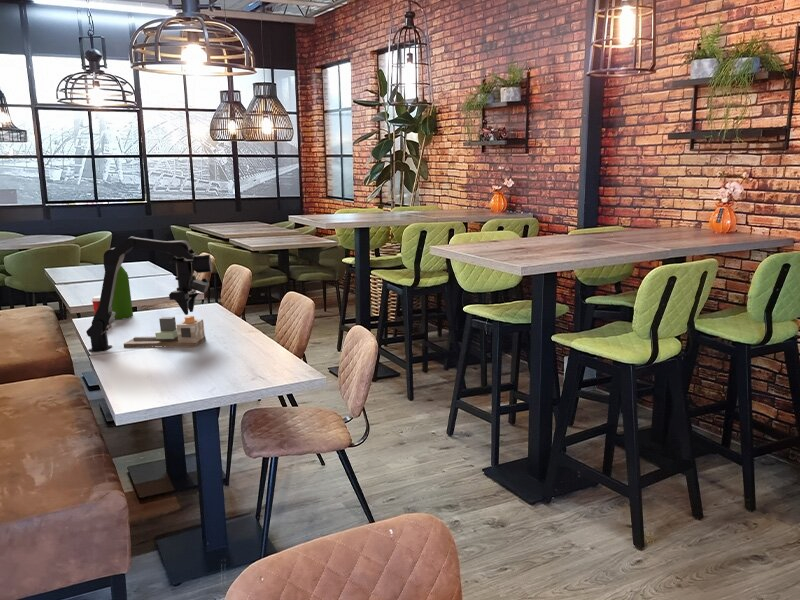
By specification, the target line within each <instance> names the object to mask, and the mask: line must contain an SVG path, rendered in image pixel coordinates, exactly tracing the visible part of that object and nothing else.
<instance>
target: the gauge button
mask: <svg viewBox="0 0 800 600" xmlns="http://www.w3.org/2000/svg"><path fill="white" fill-rule="evenodd" d="M184 321H185V324H193V323H195V316H193V315H190V316H189V315H188V316H187V315H186V316H185V317H184Z"/></svg>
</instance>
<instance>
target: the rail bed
mask: <svg viewBox="0 0 800 600" xmlns="http://www.w3.org/2000/svg"><path fill="white" fill-rule="evenodd" d="M194 319H195V318H194ZM204 324H205V323H204V319H201V318H200V319H199V318H198V319H197V318H196V319H195V323H193V324H185V320H183V321H181V322H179V323H177V324H176V328H177V335H178V336H177V337H175V338H174V339H156V336H134V337H133V338H132V339H130V340H128V341H126V342H124V343H123V348H156V347H155V346H162V347H161V348H188V347H189V348H190V347H191V348H192V347H197V346H199V345H200V344H202V343H203V342H205V341H206V338H207V337H206V334H205V325H204ZM152 346H153V347H152ZM164 346H166V347H164Z"/></svg>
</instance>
